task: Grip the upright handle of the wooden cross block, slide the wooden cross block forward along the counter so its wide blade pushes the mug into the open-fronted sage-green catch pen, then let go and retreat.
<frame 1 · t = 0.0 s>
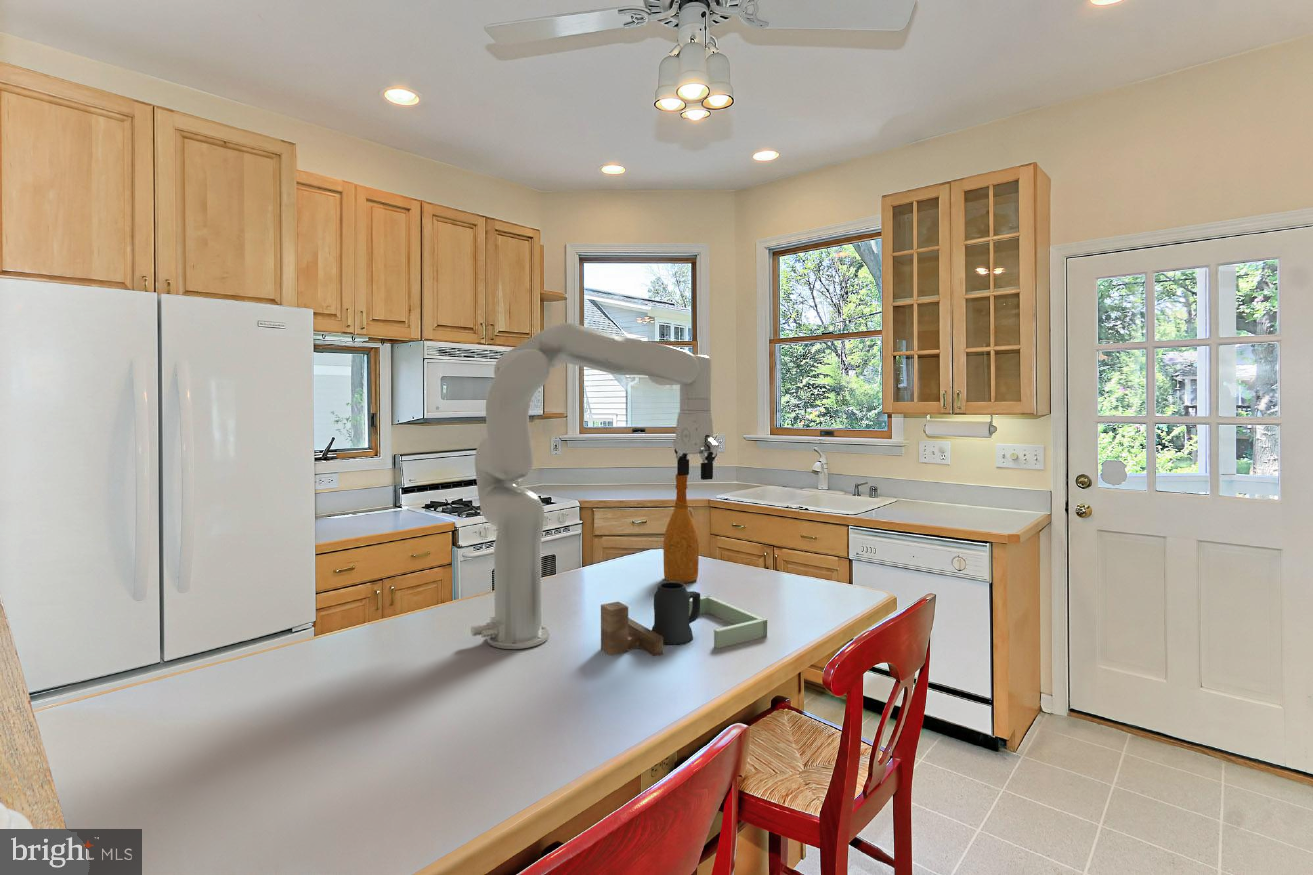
hand: (694, 477, 159), 31 cm above the counter, fingers open, 9 cm apart
catch pen: (710, 628, 143), on the counter
mug: (676, 637, 138), on the counter
wine bottle: (680, 580, 183), on the counter
wooden cross block: (614, 650, 130), on the counter
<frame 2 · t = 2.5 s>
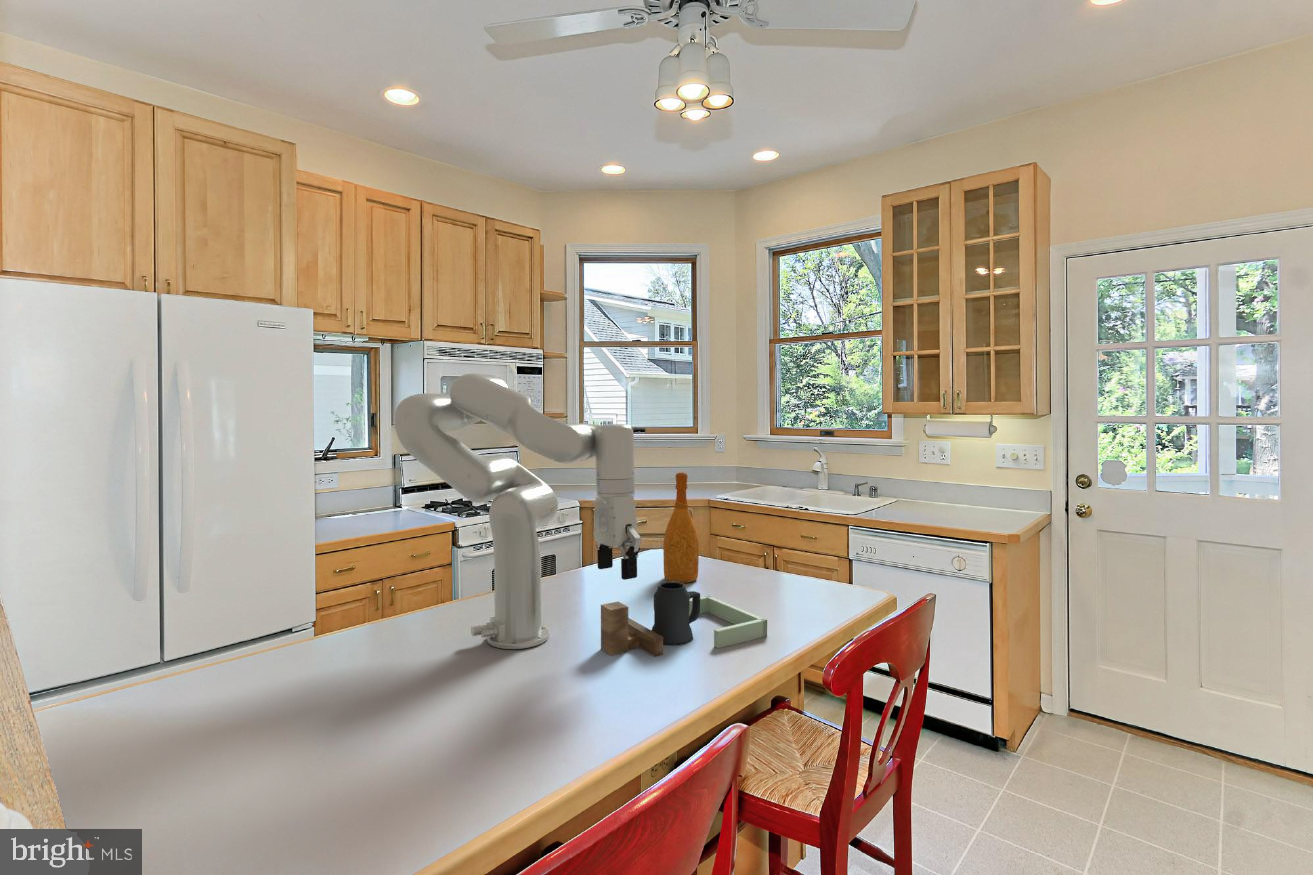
hand: (616, 573, 129), 16 cm above the counter, fingers open, 9 cm apart
nothing on the counter moved.
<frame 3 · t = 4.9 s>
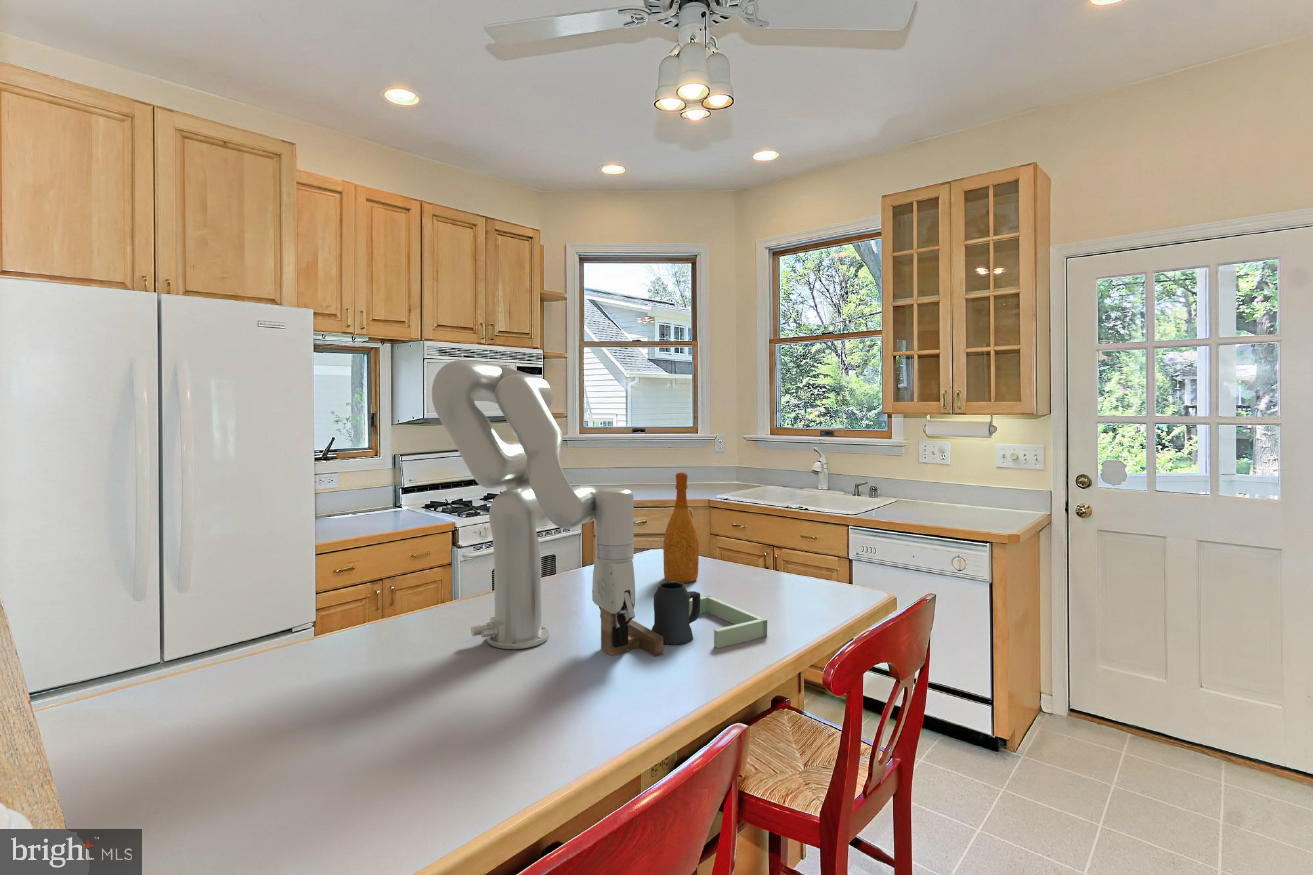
hand: (614, 641, 130), 2 cm above the counter, fingers closed on wooden cross block, 4 cm apart
wooden cross block: (614, 650, 130), on the counter, touching gripper
everything else where it was.
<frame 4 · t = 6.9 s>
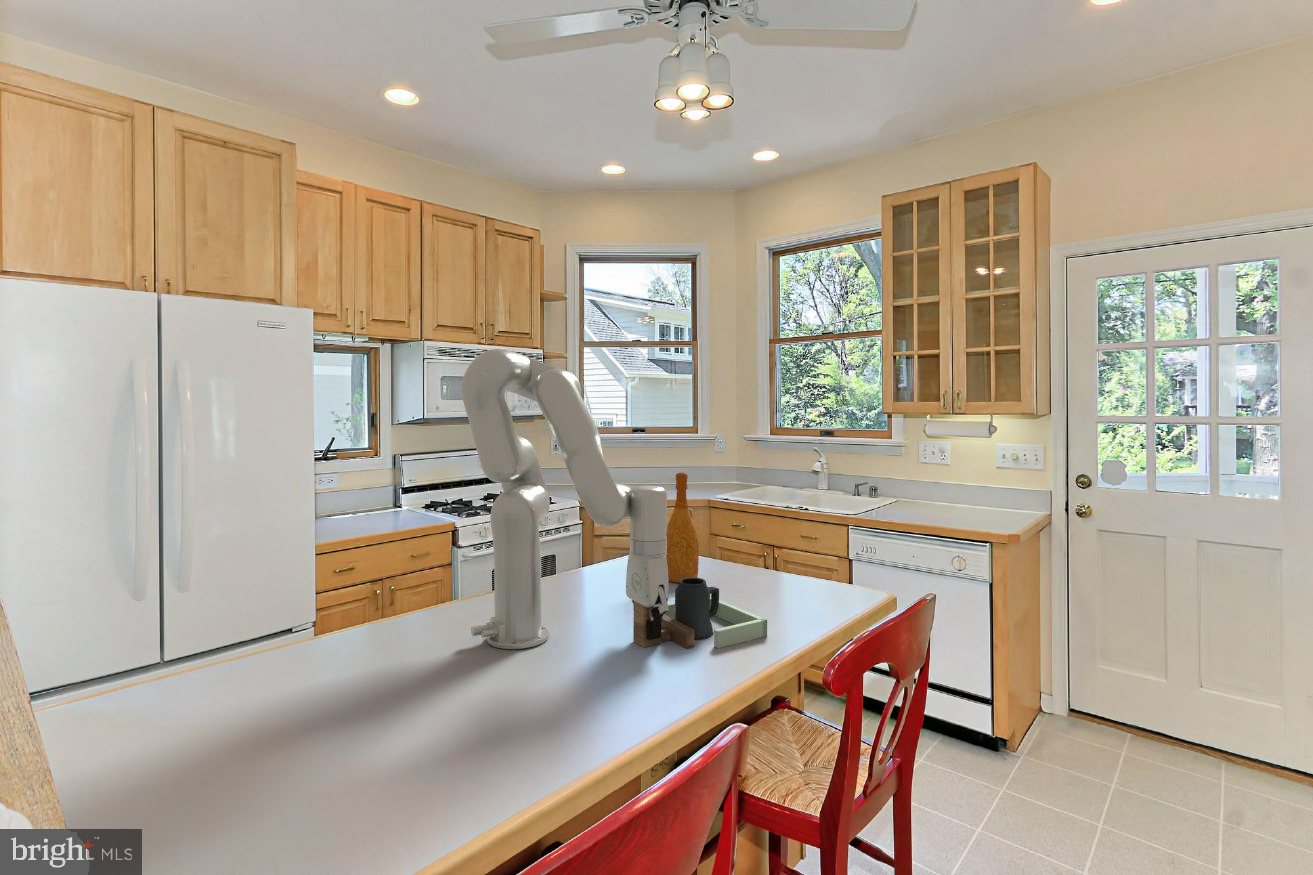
hand: (647, 634, 134), 2 cm above the counter, fingers closed on wooden cross block, 4 cm apart
mug: (697, 631, 142), on the counter, touching wooden cross block
wooden cross block: (646, 642, 134), on the counter, touching gripper, mug
everything else where it was.
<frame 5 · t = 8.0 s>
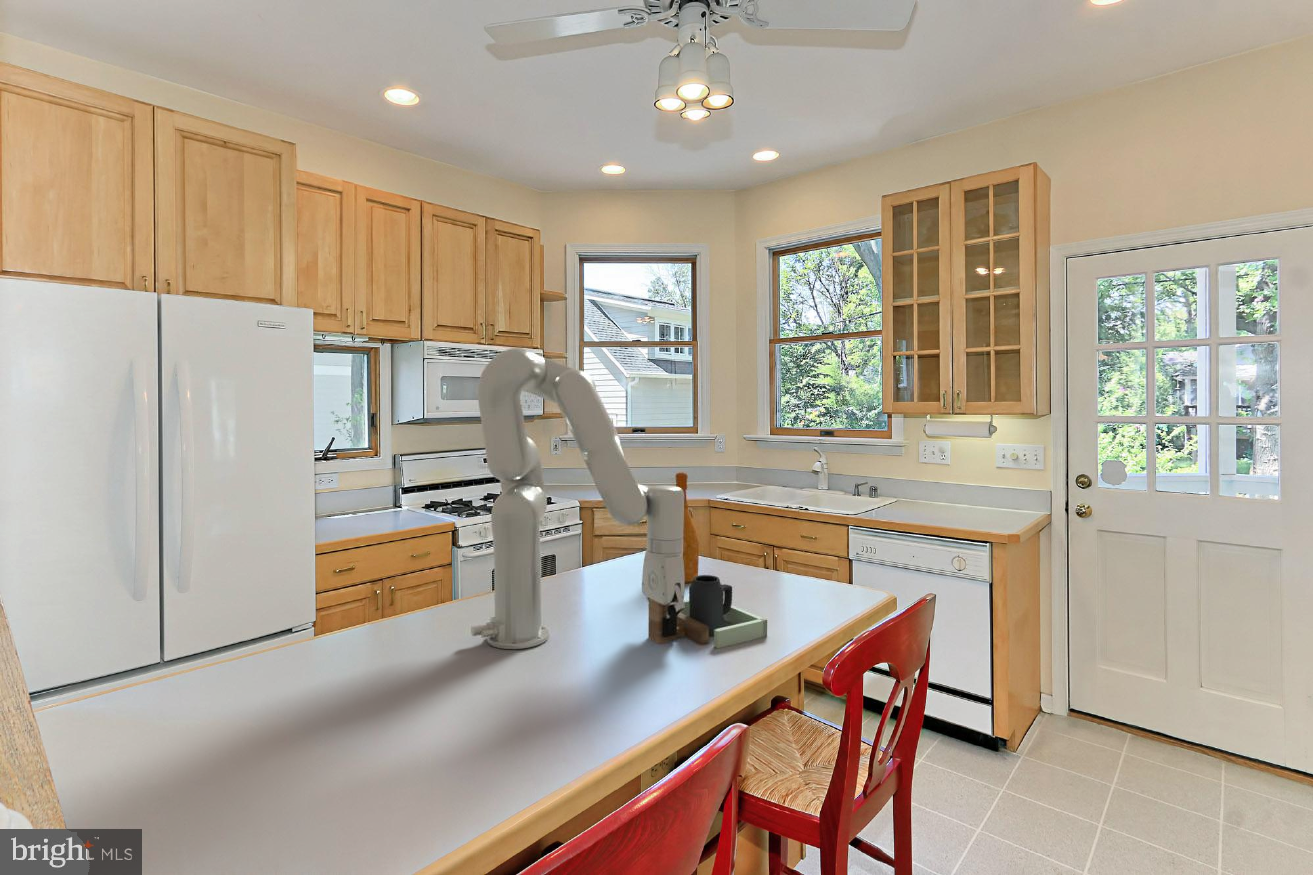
hand: (663, 631, 137), 2 cm above the counter, fingers closed on wooden cross block, 4 cm apart
mug: (710, 628, 144), on the counter, touching catch pen, wooden cross block
wooden cross block: (661, 639, 137), on the counter, touching gripper, mug
everything else where it was.
when the fingers open (2 cm above the counter, at t = 9.2 s): wooden cross block stays where it is, on the counter.
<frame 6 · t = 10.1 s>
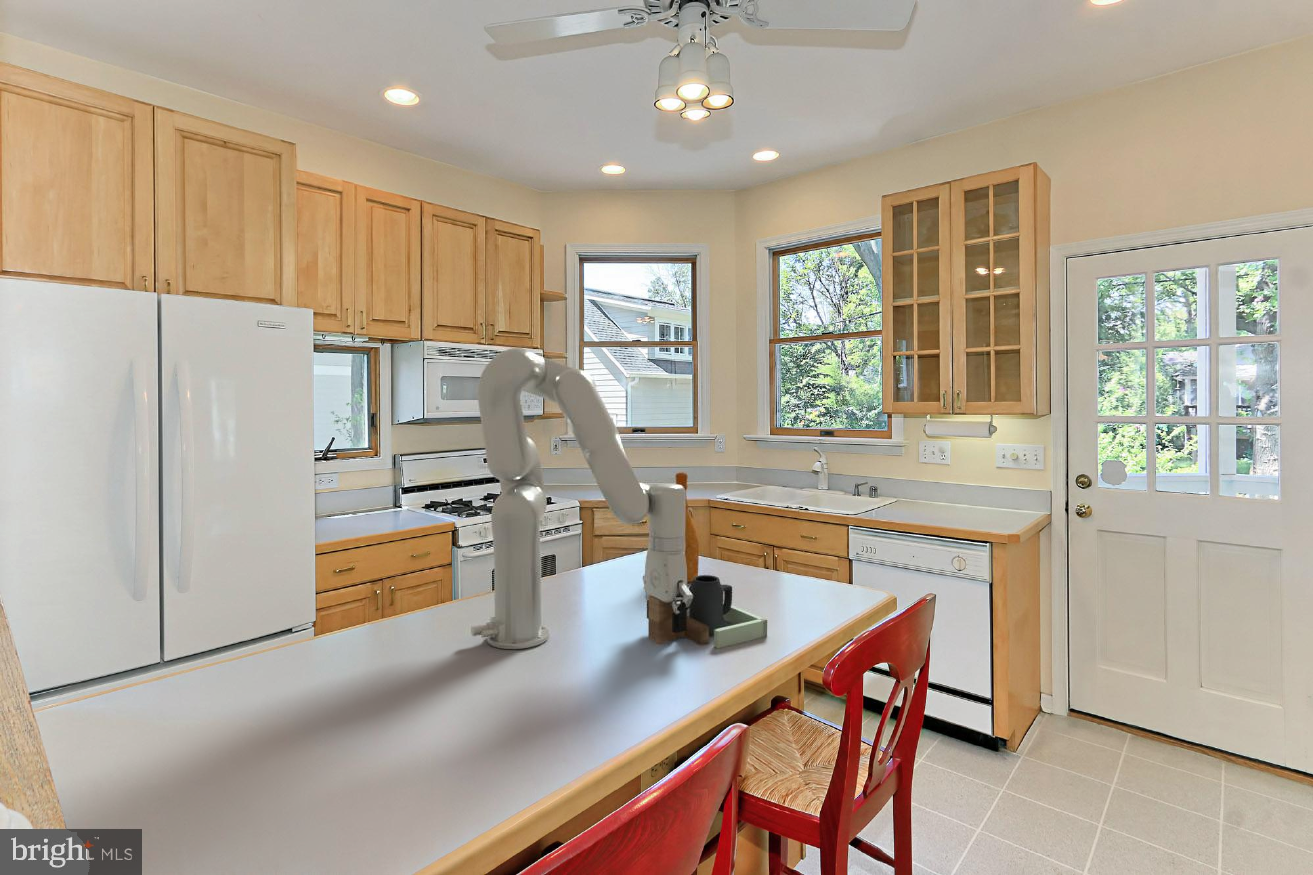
hand: (666, 624, 137), 3 cm above the counter, fingers open, 9 cm apart
mug: (710, 628, 144), on the counter
wooden cross block: (661, 639, 136), on the counter
everything else where it was.
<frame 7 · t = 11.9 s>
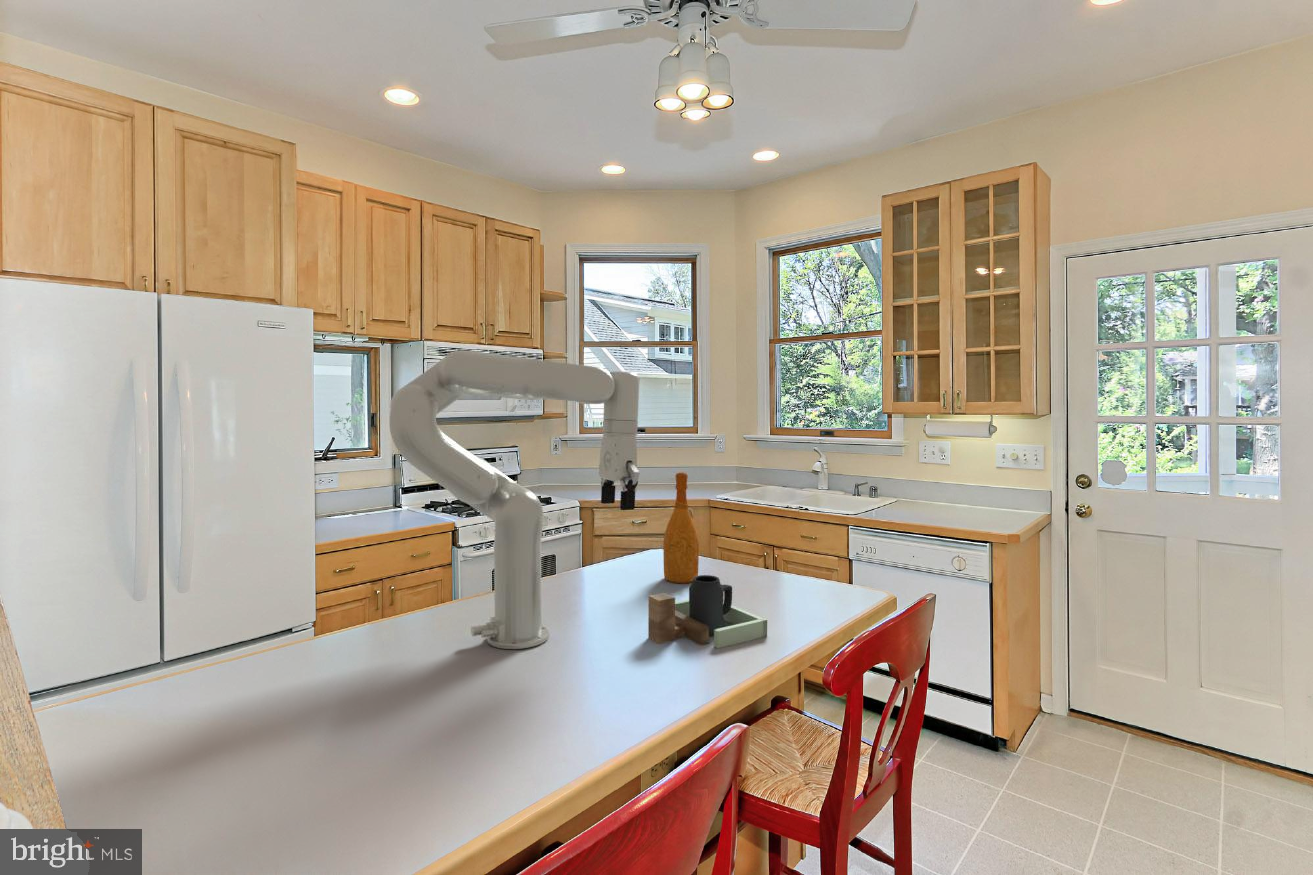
hand: (617, 506, 144), 26 cm above the counter, fingers open, 9 cm apart
nothing on the counter moved.
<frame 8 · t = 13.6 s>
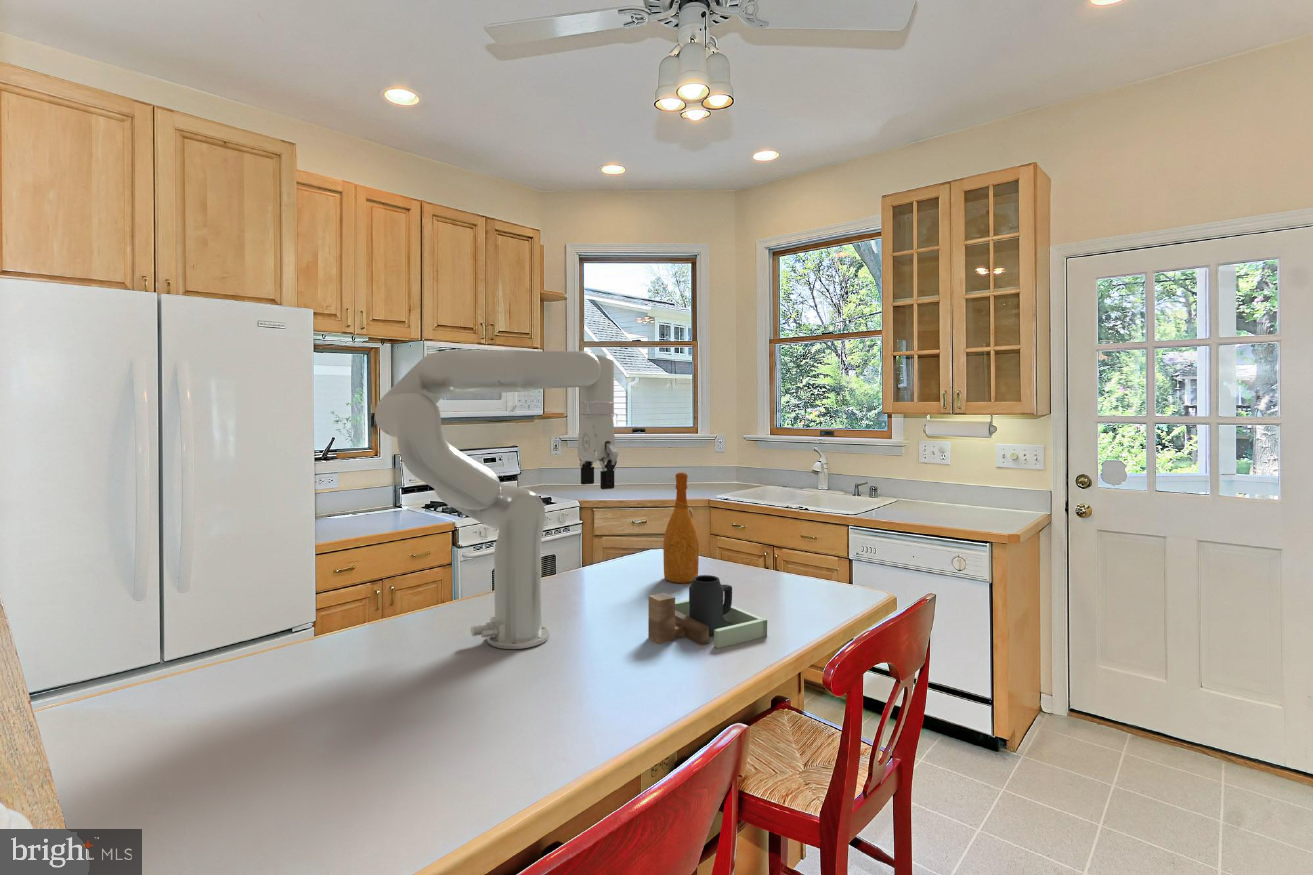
hand: (597, 486, 148), 30 cm above the counter, fingers open, 9 cm apart
nothing on the counter moved.
at the end: mug inside the target area on the catch pen (0.4 cm from its centre), point 0.0 cm above the catch pen's base; mug tilted 0°; wooden cross block moved 11.3 cm from its start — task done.
